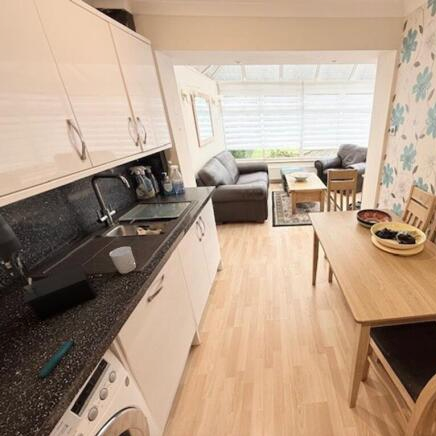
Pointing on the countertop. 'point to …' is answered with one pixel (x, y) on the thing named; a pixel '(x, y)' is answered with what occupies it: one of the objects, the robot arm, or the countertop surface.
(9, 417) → the countertop surface
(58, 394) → the countertop surface
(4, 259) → the robot arm
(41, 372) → the teal rod
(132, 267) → the white cup
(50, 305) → the bin
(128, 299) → the countertop surface
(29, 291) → the bin lid
